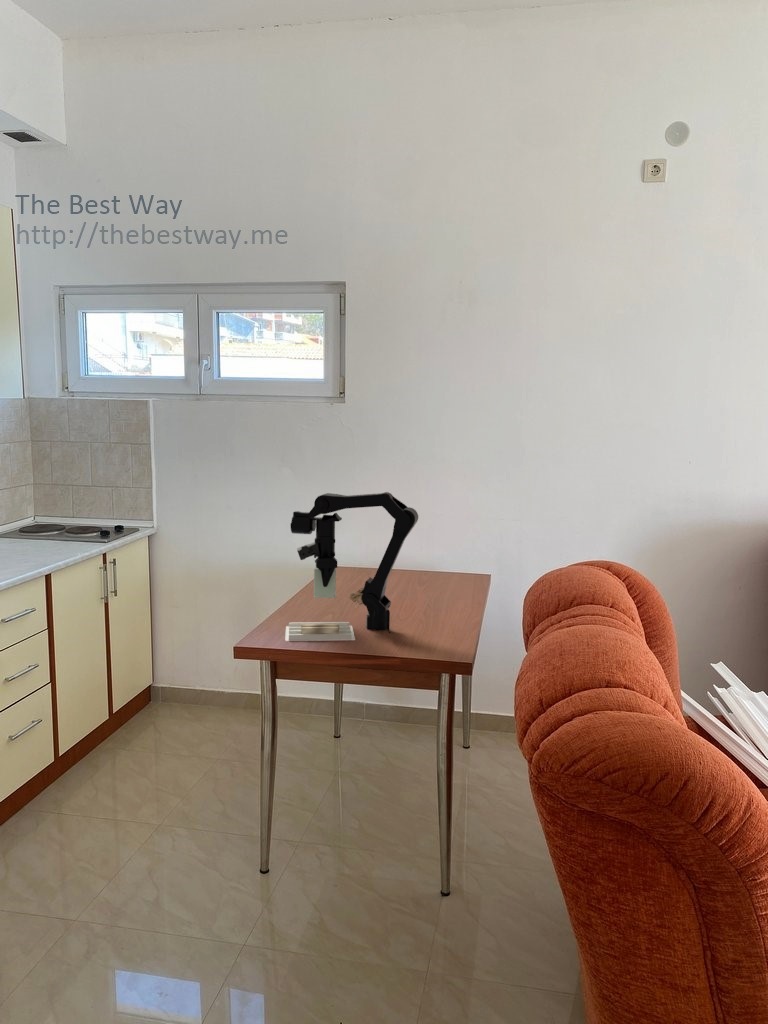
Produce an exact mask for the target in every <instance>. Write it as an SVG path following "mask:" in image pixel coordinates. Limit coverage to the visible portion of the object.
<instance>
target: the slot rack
mask: <svg viewBox="0 0 768 1024" xmlns="http://www.w3.org/2000/svg"><path fill="white" fill-rule="evenodd" d="M309 624H339V634H301V625H309ZM284 636H285V637H284V638H285V639H284V640H285V641H284V642H306V641H307V642H312V641H313V642H317V641H320V642H321V641H323V642H324V641H325V642H327V641H333V642H334V641H356V637H355V633H354V628H353V625H350V622H349V621H330V622H329V621H326V622H325V621H322V622H321V621H318V622H316V621H315V622H314V621H312V622H310V621H308V622H307V621H306V622H305V621H304V622H303V621H302V622H301V621H300V622H297V621H296V622H295V621H293V622H288V625H286V626H285V635H284Z"/></svg>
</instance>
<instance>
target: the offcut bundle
mask: <svg viewBox="0 0 768 1024" xmlns="http://www.w3.org/2000/svg"><path fill="white" fill-rule="evenodd" d="M301 634H339V624H309V625H301Z"/></svg>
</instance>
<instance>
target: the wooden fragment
mask: <svg viewBox="0 0 768 1024" xmlns="http://www.w3.org/2000/svg"><path fill="white" fill-rule="evenodd" d="M359 588H360V589H359ZM359 588H358V590H357V591H356V592H355V593H351V594H349V595H350V597H349V596H348V599H349V598H350V599H349V600H351V601H352V602H354V603H355V602H356V601H357V602H356V603H358V604H357V605H361V604H363V602H362V600H361V597H362V594H363V593H362V594H361V592H362V591H363V589H364V587H359ZM356 603H355V604H356Z"/></svg>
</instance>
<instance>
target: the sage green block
mask: <svg viewBox="0 0 768 1024" xmlns="http://www.w3.org/2000/svg"><path fill="white" fill-rule="evenodd" d="M336 586H337V568H335V570H334V572H333V574H332V576H331V579H330V581H329V583H328V586H327V587H324V586H323V581H322V576H321V571H320V570H319V569H318V568H316V566H314V567H313V598H314V599H332V598H333V599H336V598H337V597H336V594H337V592H336V591H337V587H336Z"/></svg>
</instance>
